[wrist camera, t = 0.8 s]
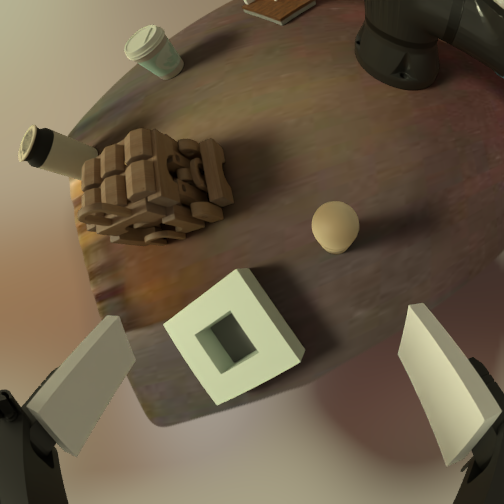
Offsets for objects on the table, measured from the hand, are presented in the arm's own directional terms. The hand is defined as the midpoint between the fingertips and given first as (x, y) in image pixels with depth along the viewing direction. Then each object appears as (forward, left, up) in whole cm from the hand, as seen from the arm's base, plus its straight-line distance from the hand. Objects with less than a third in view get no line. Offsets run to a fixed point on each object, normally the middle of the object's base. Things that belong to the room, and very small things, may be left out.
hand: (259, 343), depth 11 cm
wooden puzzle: (+10, -25, -26) cm, 37 cm away
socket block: (+13, 0, -26) cm, 29 cm away
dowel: (-6, -3, -26) cm, 27 cm away
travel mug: (+24, -48, -26) cm, 60 cm away
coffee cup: (-4, -50, -26) cm, 57 cm away
